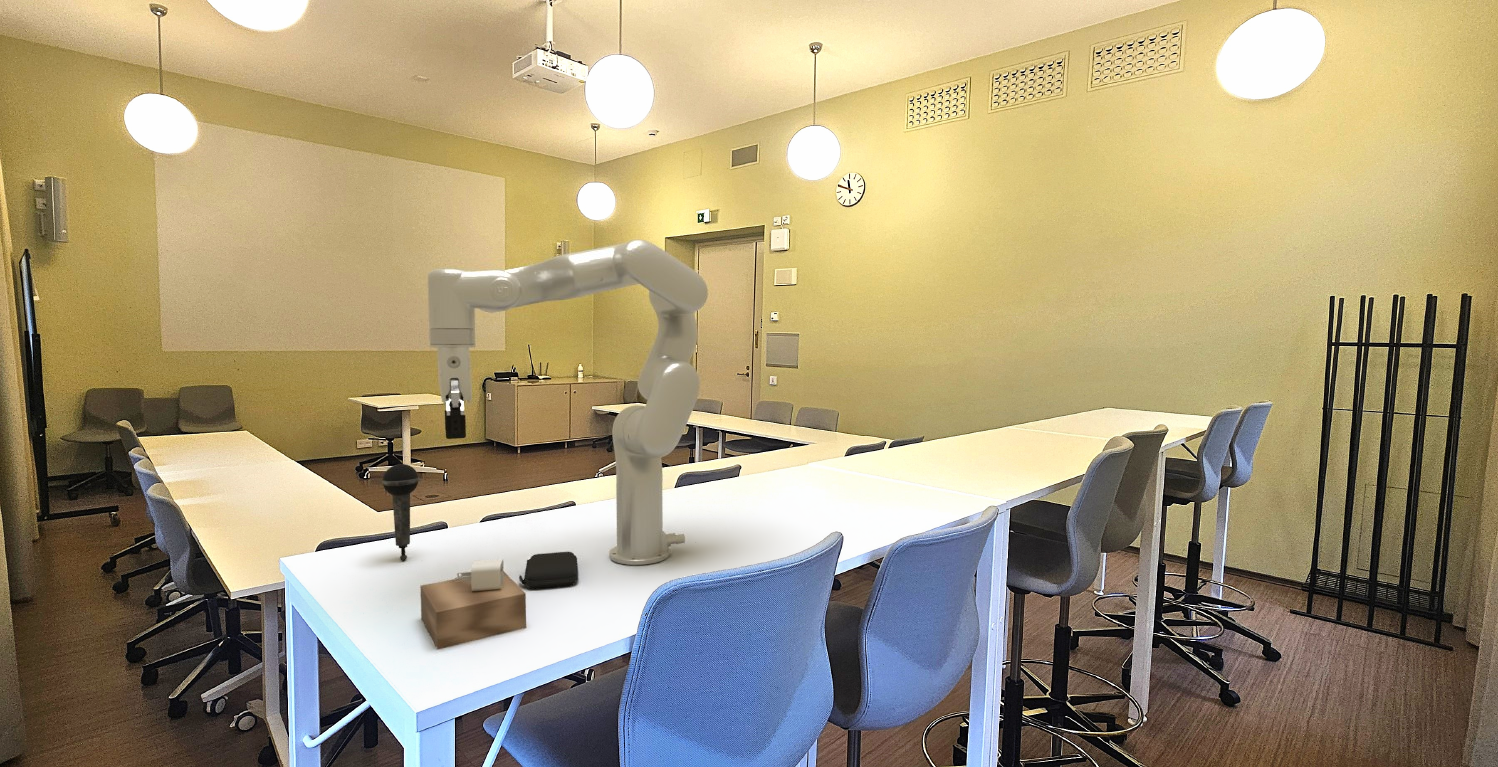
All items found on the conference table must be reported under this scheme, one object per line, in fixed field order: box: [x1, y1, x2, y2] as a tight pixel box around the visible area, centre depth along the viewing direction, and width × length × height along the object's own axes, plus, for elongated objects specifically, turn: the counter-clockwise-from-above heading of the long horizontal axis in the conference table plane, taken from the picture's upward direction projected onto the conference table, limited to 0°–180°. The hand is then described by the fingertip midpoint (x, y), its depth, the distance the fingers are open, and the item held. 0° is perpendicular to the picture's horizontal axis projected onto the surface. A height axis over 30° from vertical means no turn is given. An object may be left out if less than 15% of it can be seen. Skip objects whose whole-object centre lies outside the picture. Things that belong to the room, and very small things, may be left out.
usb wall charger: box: [454, 558, 504, 591], centre depth 108 cm, size 4×7×4 cm, turn 104°
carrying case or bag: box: [518, 551, 579, 590], centre depth 130 cm, size 11×3×15 cm
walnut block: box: [420, 570, 527, 650], centre depth 108 cm, size 13×13×6 cm
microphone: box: [381, 463, 420, 562], centre depth 137 cm, size 7×7×20 cm
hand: (455, 434), depth 121 cm, fingers open, 9 cm apart
